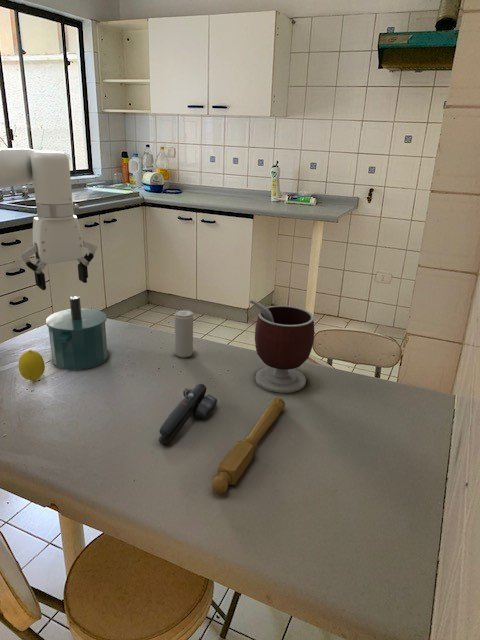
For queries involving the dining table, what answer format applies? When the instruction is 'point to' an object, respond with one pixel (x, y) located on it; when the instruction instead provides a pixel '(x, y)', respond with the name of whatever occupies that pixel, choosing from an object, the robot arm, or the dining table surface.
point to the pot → (78, 348)
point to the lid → (76, 318)
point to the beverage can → (183, 333)
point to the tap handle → (245, 449)
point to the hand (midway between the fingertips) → (63, 284)
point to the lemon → (31, 365)
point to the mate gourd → (283, 346)
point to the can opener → (187, 411)
